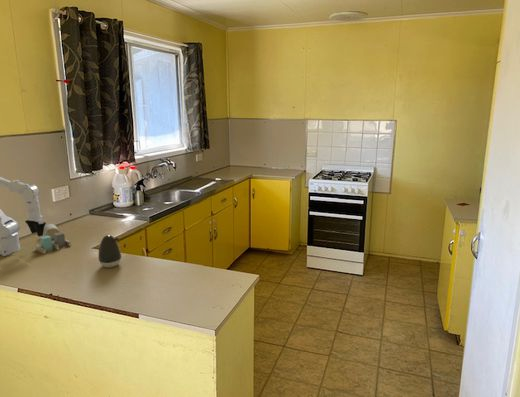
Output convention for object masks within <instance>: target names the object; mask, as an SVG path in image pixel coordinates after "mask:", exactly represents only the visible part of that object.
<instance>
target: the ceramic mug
mask: <svg viewBox="0 0 520 397" xmlns="http://www.w3.org/2000/svg"><path fill="white" fill-rule="evenodd" d="M59 232H62V233H64V236H65V235H66V233H65V232H63V231H62V230H61V231H60V230H59V228H58V226H57V225H55V224H53V223H48V224H45V227H44V231H43V236H47V235H48V236H50V237H51V239H52V240H54V238H53V234H55V233H59Z"/></svg>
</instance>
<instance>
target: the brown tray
mask: <svg viewBox="0 0 520 397" xmlns="http://www.w3.org/2000/svg"><path fill="white" fill-rule="evenodd" d="M65 244H66V246H64V247H60V248H59V246H58V245H57V244H55V243H54V241H52V246H53V250H50V251H46V250H45V248H43V247H41V245H39V244H36V245H35V250H36V251H37V252H39V253H41V254H43V255H45V254H49V253H52V252H55V251H56V252H57V251H59V250H62V249H66V248H69V247H72V240H68V239H66V238H65Z"/></svg>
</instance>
